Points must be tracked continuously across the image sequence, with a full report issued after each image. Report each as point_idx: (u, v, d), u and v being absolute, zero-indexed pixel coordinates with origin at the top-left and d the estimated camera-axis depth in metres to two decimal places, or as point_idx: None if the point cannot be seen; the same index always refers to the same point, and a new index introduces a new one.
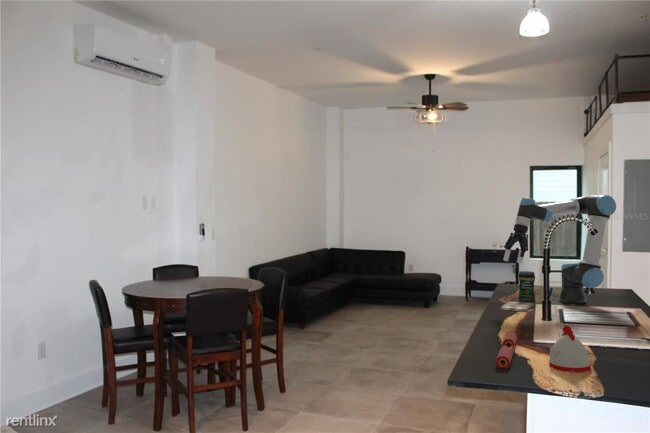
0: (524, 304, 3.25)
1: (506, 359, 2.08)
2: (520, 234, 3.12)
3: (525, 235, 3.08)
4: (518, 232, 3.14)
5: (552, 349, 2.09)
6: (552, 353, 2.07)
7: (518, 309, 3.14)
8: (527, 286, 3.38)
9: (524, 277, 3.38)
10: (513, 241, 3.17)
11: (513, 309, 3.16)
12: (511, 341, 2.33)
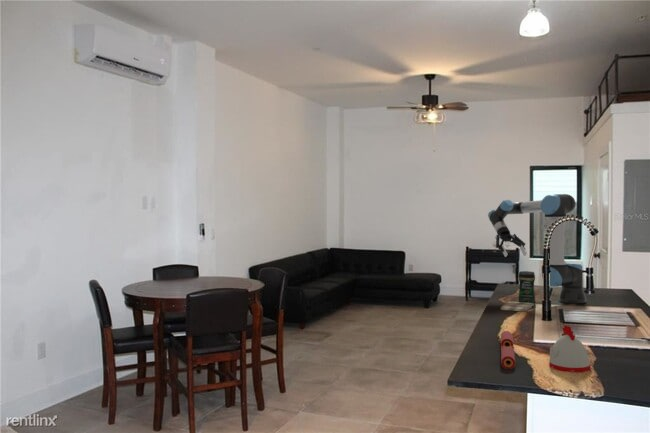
0: (524, 304, 3.25)
1: (511, 359, 2.07)
2: None
3: (496, 237, 3.60)
4: None
5: (552, 349, 2.09)
6: (552, 353, 2.07)
7: (518, 309, 3.14)
8: (527, 286, 3.38)
9: (524, 277, 3.38)
10: (512, 241, 3.60)
11: (513, 309, 3.16)
12: (510, 341, 2.33)
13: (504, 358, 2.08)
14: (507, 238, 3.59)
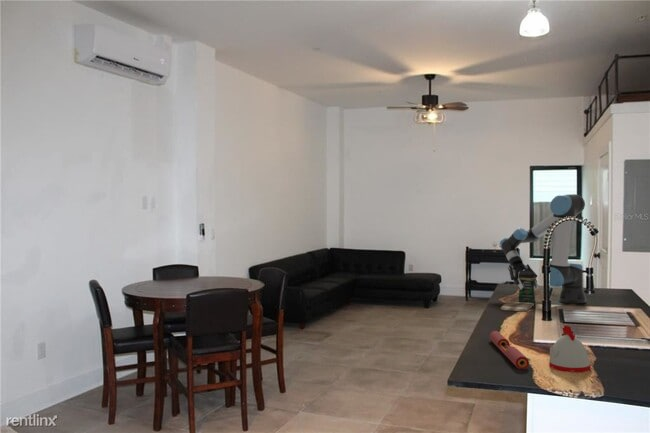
0: (524, 304, 3.25)
1: (525, 359, 2.06)
2: None
3: (508, 268, 3.48)
4: None
5: (552, 349, 2.09)
6: (552, 353, 2.07)
7: (518, 309, 3.14)
8: (527, 286, 3.38)
9: (524, 277, 3.38)
10: None
11: (513, 309, 3.16)
12: (506, 341, 2.34)
13: (518, 358, 2.07)
14: (520, 268, 3.47)
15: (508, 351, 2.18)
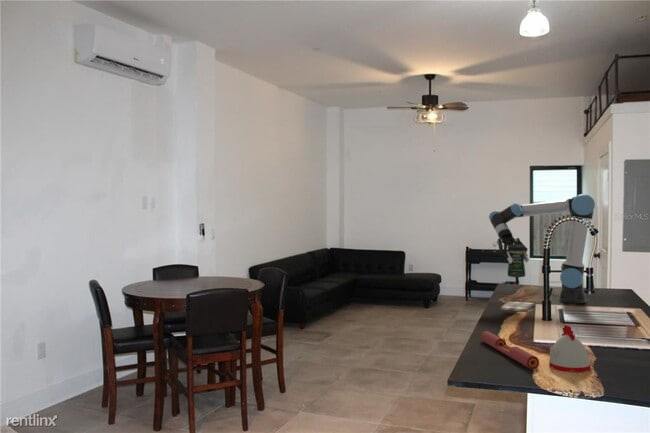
0: (524, 304, 3.25)
1: (536, 359, 2.07)
2: None
3: (497, 242, 3.30)
4: None
5: (552, 349, 2.09)
6: (552, 353, 2.07)
7: (518, 309, 3.14)
8: (516, 259, 3.20)
9: (514, 251, 3.21)
10: None
11: (513, 309, 3.16)
12: (503, 341, 2.34)
13: (529, 358, 2.07)
14: (509, 242, 3.30)
15: (513, 351, 2.18)
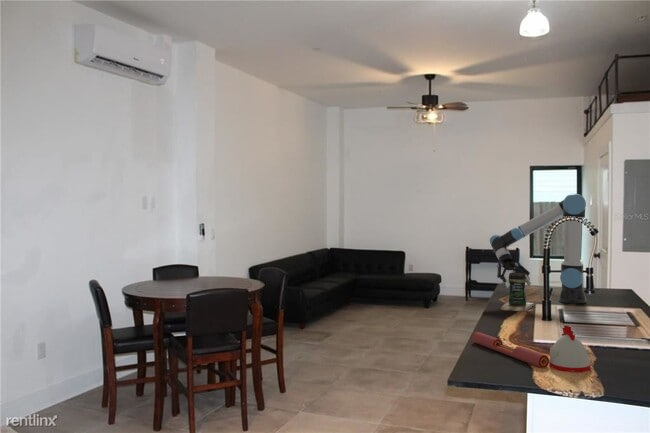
0: None
1: (546, 357, 2.08)
2: None
3: (497, 265, 3.31)
4: None
5: (552, 349, 2.09)
6: (552, 353, 2.07)
7: (518, 309, 3.14)
8: (517, 288, 3.21)
9: (515, 279, 3.21)
10: (515, 270, 3.31)
11: (513, 309, 3.16)
12: (499, 341, 2.34)
13: (540, 357, 2.07)
14: (510, 266, 3.30)
15: (519, 351, 2.18)
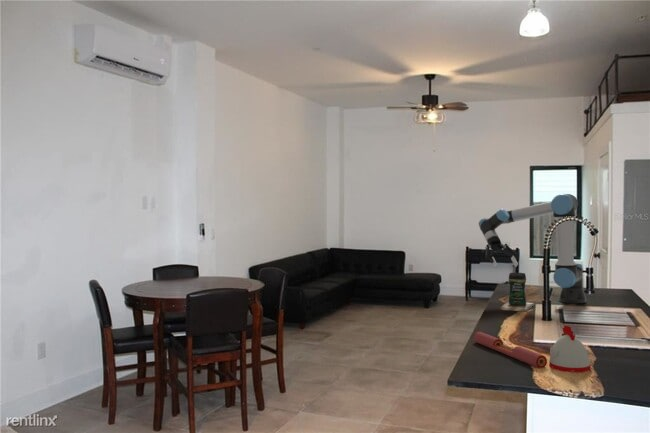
0: None
1: (544, 358, 2.08)
2: None
3: (486, 247, 3.43)
4: None
5: (552, 349, 2.09)
6: (552, 353, 2.07)
7: (518, 309, 3.14)
8: (517, 288, 3.21)
9: (515, 279, 3.21)
10: (503, 251, 3.43)
11: (513, 309, 3.16)
12: (500, 341, 2.34)
13: (538, 358, 2.07)
14: (498, 248, 3.42)
15: (517, 351, 2.18)
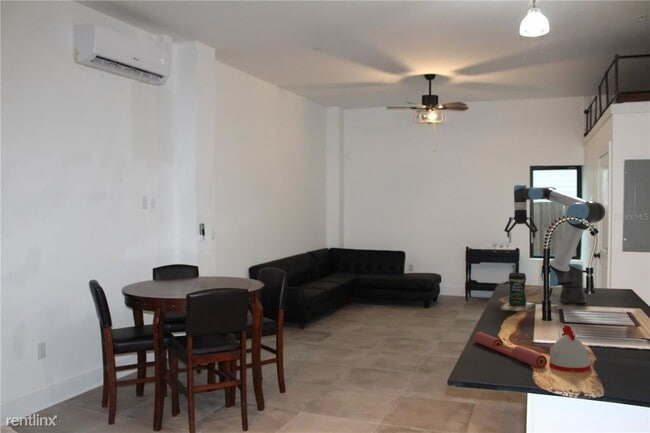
0: None
1: (544, 358, 2.08)
2: None
3: None
4: None
5: (552, 349, 2.09)
6: (552, 353, 2.07)
7: (518, 309, 3.14)
8: (517, 288, 3.21)
9: (515, 279, 3.21)
10: (526, 224, 3.55)
11: (513, 309, 3.16)
12: (500, 341, 2.34)
13: (538, 358, 2.07)
14: (519, 222, 3.56)
15: (517, 351, 2.18)
